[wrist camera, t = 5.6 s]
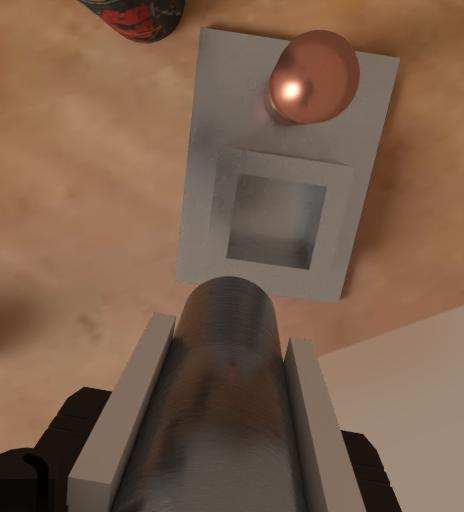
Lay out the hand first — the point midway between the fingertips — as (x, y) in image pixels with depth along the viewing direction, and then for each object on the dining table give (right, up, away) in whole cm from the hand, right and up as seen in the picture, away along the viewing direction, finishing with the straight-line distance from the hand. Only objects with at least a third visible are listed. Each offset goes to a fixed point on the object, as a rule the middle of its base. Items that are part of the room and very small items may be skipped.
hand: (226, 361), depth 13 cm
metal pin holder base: (+4, +10, +17) cm, 20 cm away
